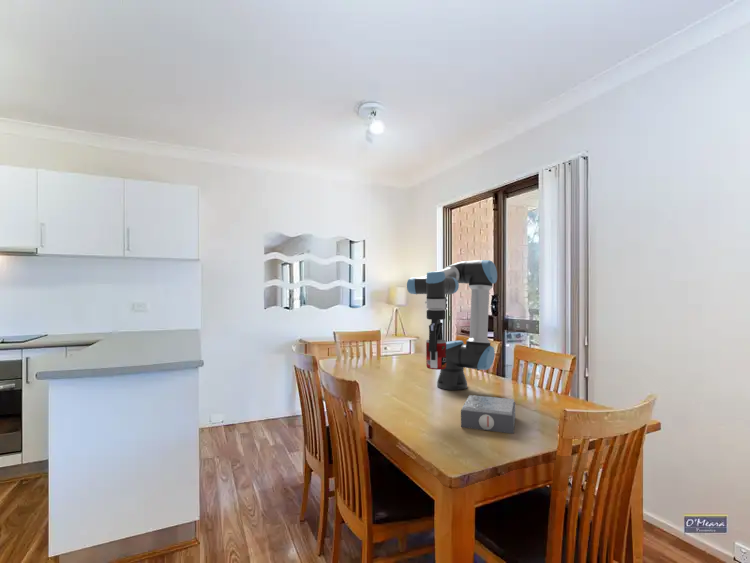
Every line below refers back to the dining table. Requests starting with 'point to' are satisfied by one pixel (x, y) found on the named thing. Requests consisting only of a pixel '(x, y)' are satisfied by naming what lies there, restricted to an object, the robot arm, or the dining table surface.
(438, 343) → the canned food
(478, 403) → the scale pan
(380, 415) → the dining table surface
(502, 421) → the scale base
